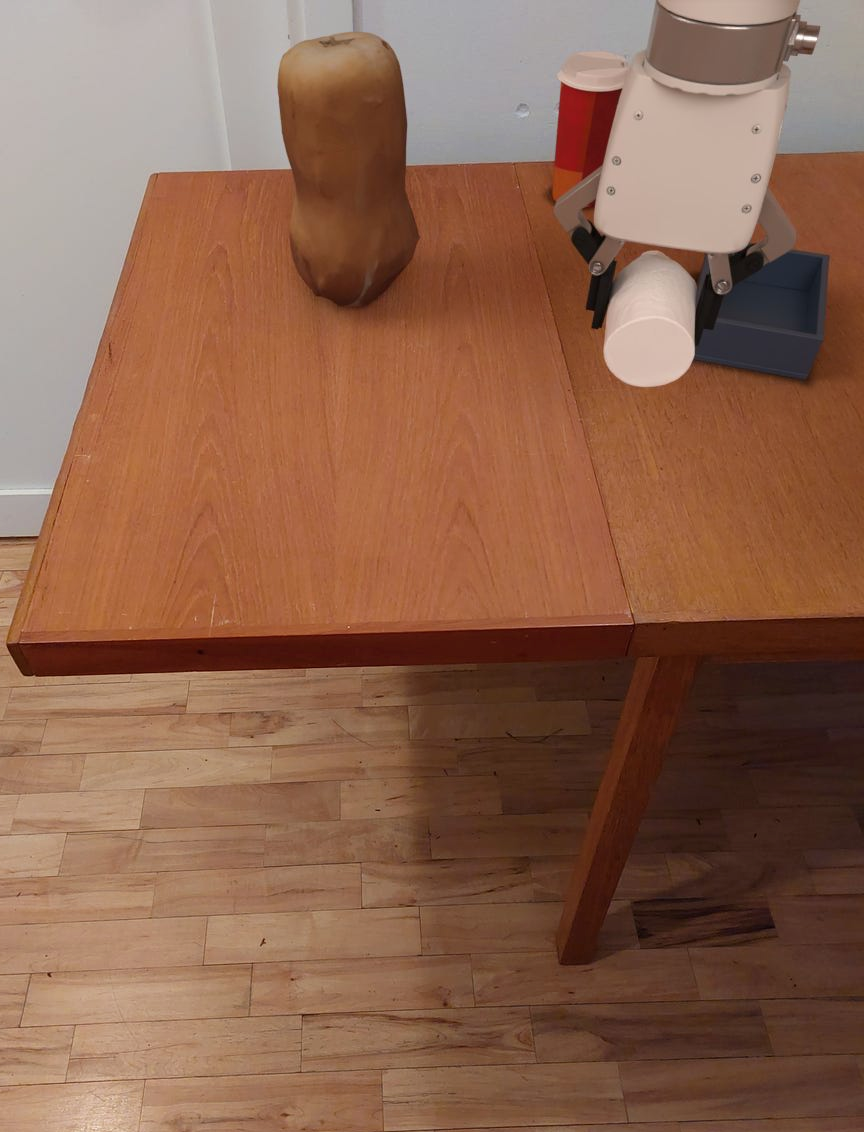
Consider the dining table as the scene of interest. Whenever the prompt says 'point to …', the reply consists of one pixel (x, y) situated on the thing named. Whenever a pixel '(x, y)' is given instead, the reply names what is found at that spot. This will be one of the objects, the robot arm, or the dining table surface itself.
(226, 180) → the dining table surface
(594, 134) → the coffee cup
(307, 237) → the butternut squash
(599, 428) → the dining table surface
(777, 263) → the tote
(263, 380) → the dining table surface
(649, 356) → the roll
